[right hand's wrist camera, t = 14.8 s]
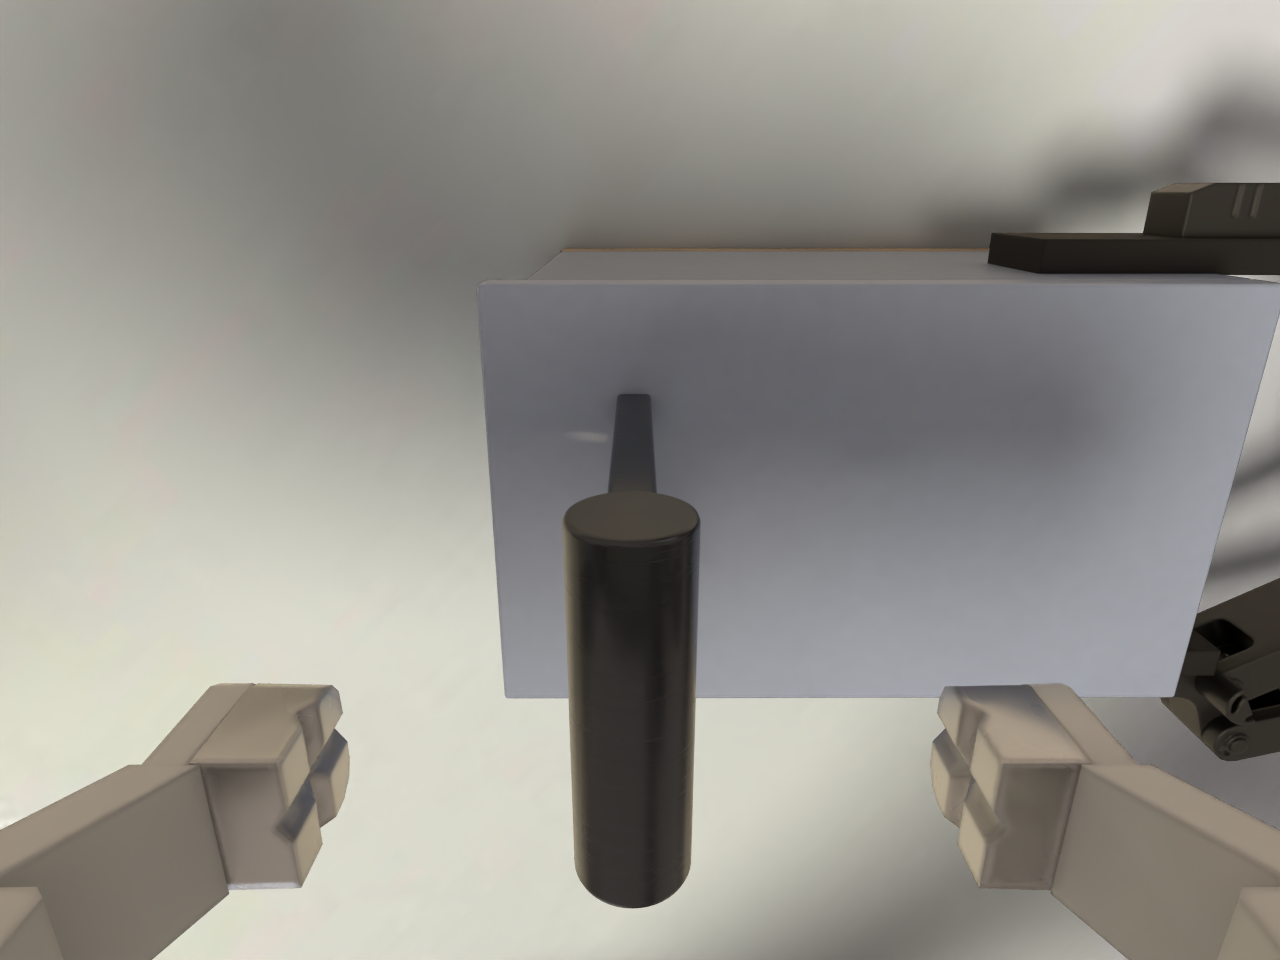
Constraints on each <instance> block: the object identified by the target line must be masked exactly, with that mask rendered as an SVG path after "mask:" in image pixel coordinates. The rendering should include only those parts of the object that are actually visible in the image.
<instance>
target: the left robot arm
mask: <svg viewBox="0 0 1280 960" xmlns="http://www.w3.org/2000/svg"><path fill="white" fill-rule="evenodd" d="M987 263H988V264H993V265H998V266H1003V267H1008V268H1012V269H1017V270H1022V271H1027V272H1032V273H1037V274H1221V275H1280V183H1176V184H1172V185H1169V186H1167V187H1164V188H1162V189H1159V190H1157V191H1154V192H1152V193H1151V198H1150V202H1149V207H1148V212H1147V217H1146V221H1145V226H1144V231H1143V233H992V235H991V242H990V249H989V255H988V262H987ZM1161 701H1162V703H1163V704H1164V705H1165V706H1166V707H1167V708H1168V709H1169V710H1170V711H1171V712H1172V713H1173V714H1174V715H1175V716H1176V717H1177V718H1178V719H1179V720H1180V721H1181V722H1182V723H1183V724H1184V725H1186V726H1187V727H1188V728H1189V729H1190V730H1191V731H1192V732H1193V733H1194V734H1195V735H1196V736H1197V737H1198V738H1199V739H1200V740H1201V741H1202V742H1203V743H1204V744H1205V745H1206V746H1207V747H1208V748H1210V749H1211V750H1212V751H1213V752H1214V753H1215V754H1216V755H1217V756H1218V757H1219V758H1220V759H1222V760H1226V761H1237V760H1241V759H1246V758H1251V757H1256V756H1260V755H1265V754H1270V753H1275V752H1279V751H1280V578H1279V579H1276V580H1274V581H1272V582H1269V583H1267V584H1265V585H1262V586H1260V587H1258V588H1256V589H1253V590H1251V591H1249V592H1246V593H1244V594H1242V595H1239V596H1237V597H1235V598H1232V599H1230V600H1228V601H1226V602H1223V603H1221V604H1219V605H1216V606H1214V607H1212V608H1209V609H1207V610H1205V611H1202V612H1200V613H1198V614H1197V615H1196V619H1195V622H1194V626H1193V629H1192V633H1191V637H1190V640H1189V644H1188V648H1187V651H1186V655H1185V658H1184V662H1183V666H1182V669H1181V673H1180V677H1179V680H1178V684H1177V687H1176V691H1175V695H1174V696H1173V697H1161Z"/></svg>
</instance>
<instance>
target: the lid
mask: <svg viewBox="0 0 1280 960" xmlns="http://www.w3.org/2000/svg"><path fill="white" fill-rule="evenodd" d="M476 289H477V303H478V317H479V332H480V346H481V360H482V375H483V389H484V403H485V418H486V432H487V446H488V461H489V475H490V489H491V504H492V518H493V532H494V546H495V561H496V575H497V589H498V604H499V618H500V632H501V647H502V661H503V675H504V690H505V696H506V698H569V721H570V748H571V775H572V803H573V830H574V857H575V868H576V872H577V875H578V877H579V879H580V881H581V882H582V884H583V885H584V886H585V888H586V889H587V890H588V891H589V892H590V893H591V894H592V895H593V896H595V897H596V898H597V899H599V900H601V901H603V902H605V903H607V904H610V905H613V906H617V907H622V908H643V907H648V906H652V905H655V904H658V903H660V902H662V901H664V900H666V899H667V898H669V897H670V896H672V895H673V894H674V893H675V892H676V891H677V890H678V889H679V888H680V887H681V885H682V884H683V883H684V881H685V879H686V877H687V876H688V873H689V870H690V865H691V841H692V807H693V772H694V737H695V702H696V698H940V695H941V693H942V691H943V689H944V687H945V686H985V685H1022V684H1041V683H1062V684H1064V685H1067V686H1069V687H1070V688H1072V690H1073V691H1074V692H1075V693H1076V694H1077V695H1078V696H1079V697H1173V696H1174V695H1175V691H1176V687H1177V684H1178V680H1179V677H1180V673H1181V669H1182V666H1183V662H1184V658H1185V655H1186V651H1187V648H1188V644H1189V640H1190V637H1191V633H1192V629H1193V626H1194V622H1195V619H1196V615H1197V611H1198V608H1199V604H1200V600H1201V597H1202V593H1203V590H1204V586H1205V582H1206V579H1207V575H1208V571H1209V568H1210V564H1211V561H1212V557H1213V553H1214V550H1215V546H1216V542H1217V539H1218V535H1219V532H1220V528H1221V524H1222V521H1223V517H1224V514H1225V510H1226V506H1227V503H1228V499H1229V495H1230V492H1231V488H1232V485H1233V481H1234V477H1235V474H1236V470H1237V466H1238V463H1239V459H1240V456H1241V452H1242V448H1243V445H1244V441H1245V437H1246V434H1247V430H1248V427H1249V423H1250V419H1251V416H1252V412H1253V408H1254V405H1255V401H1256V398H1257V394H1258V390H1259V387H1260V383H1261V379H1262V376H1263V372H1264V369H1265V365H1266V361H1267V358H1268V354H1269V350H1270V347H1271V343H1272V340H1273V336H1274V332H1275V329H1276V325H1277V321H1278V318H1279V314H1280V283H1276V282H1269V281H1262V280H1255V279H1207V280H485V281H483V282H482V283H480V284H478V285H477V288H476Z"/></svg>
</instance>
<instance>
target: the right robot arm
mask: <svg viewBox="0 0 1280 960" xmlns="http://www.w3.org/2000/svg"><path fill="white" fill-rule="evenodd" d="M937 713H938V715H939V717H940V719H941V721H942V722H943V724H944V726H945V729H944V731H943V732H942V733H941V734H940V735H939V736H938V737H937V738H936V739H935V740H934V741H933V744H932V752H931V761H930V766H931V777H932V786H933V789H934V793H935V796H936V800H937V802H938V805H939V807H940V809H941V811H942V813H943V815H944V817H945V818H947V819H948V820H950V821H951V822H952V823H954V824H955V825H957V826H958V827H959V828H960V832H959V838H958V846H959V848H960V850H961V852H962V854H963V856H964V858H965V860H966V862H967V864H968V866H969V868H970V870H971V873H972V875H973V877H974V879H975V881H976V883H977V885H978V887H979V888H997V889H1033V890H1052V891H1051V894H1052V895H1053V896H1054V897H1056V898H1057V899H1058V900H1059V901H1060V902H1061V903H1063V904H1064V905H1065V906H1066V907H1067V908H1069V909H1070V910H1071V911H1072V912H1073V913H1074V914H1076V915H1077V916H1078V917H1079V918H1080V919H1081V920H1083V921H1084V922H1085V923H1086V924H1087V925H1088V926H1090V927H1091V928H1092V929H1093V930H1094V931H1095V932H1097V933H1098V934H1099V935H1100V936H1101V937H1102V938H1104V939H1105V940H1106V941H1107V942H1108V943H1110V944H1111V945H1112V946H1113V947H1114V948H1115V949H1117V950H1118V951H1119V952H1120V953H1121V954H1122V955H1124V956H1125V957H1126V958H1127V959H1128V960H1280V830H1278V829H1276V828H1274V827H1272V826H1270V825H1268V824H1266V823H1264V822H1262V821H1260V820H1259V819H1257V818H1255V817H1253V816H1251V815H1249V814H1247V813H1245V812H1243V811H1241V810H1239V809H1237V808H1235V807H1233V806H1231V805H1229V804H1227V803H1225V802H1223V801H1221V800H1219V799H1217V798H1215V797H1213V796H1211V795H1209V794H1207V793H1205V792H1204V791H1202V790H1200V789H1198V788H1196V787H1194V786H1192V785H1190V784H1188V783H1186V782H1184V781H1182V780H1180V779H1178V778H1176V777H1174V776H1172V775H1170V774H1168V773H1166V772H1164V771H1162V770H1160V769H1158V768H1156V767H1154V766H1152V765H1138V764H1137V762H1136V761H1135V760H1134V759H1133V758H1132V757H1131V756H1130V754H1129V753H1128V752H1127V751H1126V750H1125V749H1124V748H1123V747H1122V745H1121V744H1120V743H1119V742H1118V741H1117V740H1116V739H1115V737H1114V736H1113V735H1112V734H1111V733H1110V732H1109V731H1108V729H1107V728H1106V727H1105V726H1104V725H1103V724H1102V723H1101V721H1100V720H1099V719H1098V718H1097V717H1096V716H1095V715H1094V713H1093V712H1092V711H1091V710H1090V709H1089V708H1088V707H1087V706H1086V704H1085V703H1084V702H1083V701H1082V700H1081V699H1080V698H1079V696H1078V695H1077V694H1076V693H1075V692H1074V691H1073V690H1072V688H1070V687H1069V686H1067V685H1064V684H1062V683H1041V684H1022V685H985V686H945V687H944V689H943V691H942V693H941V695H940V699H939V705H938V711H937ZM342 714H343V711H342V706H341V701H340V696H339V691H338V690H337V689H336V688H335V687H334V686H332V685H305V684H253V683H220V684H217V685H214V686H211V687H210V688H209V689H208V690H207V691H206V692H205V693H204V694H203V695H202V696H201V698H200V699H199V700H198V701H197V702H196V703H195V704H194V706H193V707H192V708H191V709H190V710H189V711H188V712H187V714H186V715H185V716H184V717H183V718H182V719H181V720H180V722H179V723H178V724H177V725H176V726H175V727H174V728H173V729H172V731H171V732H170V733H169V734H168V735H167V736H166V737H165V739H164V740H163V741H162V742H161V743H160V744H159V745H158V747H157V748H156V749H155V750H154V751H153V752H152V753H151V755H150V756H149V757H148V758H147V759H146V760H145V761H144V763H143V764H142V765H128V766H126V767H124V768H122V769H120V770H118V771H116V772H114V773H112V774H110V775H108V776H106V777H104V778H102V779H100V780H98V781H96V782H94V783H92V784H90V785H88V786H86V787H84V788H82V789H80V790H78V791H76V792H74V793H72V794H71V795H69V796H67V797H65V798H63V799H61V800H59V801H57V802H55V803H53V804H51V805H49V806H47V807H45V808H43V809H41V810H39V811H37V812H35V813H33V814H31V815H29V816H27V817H25V818H23V819H21V820H19V821H17V822H15V823H13V824H11V825H9V826H8V827H6V828H4V829H2V830H0V960H152V959H153V958H154V957H156V956H157V955H158V954H159V953H160V952H161V951H163V950H164V949H165V948H166V947H167V946H169V945H170V944H171V943H172V942H173V941H174V940H176V939H177V938H178V937H179V936H180V935H181V934H183V933H184V932H185V931H186V930H187V929H188V928H190V927H191V926H192V925H193V924H194V923H196V922H197V921H198V920H199V919H200V918H201V917H203V916H204V915H205V914H206V913H207V912H208V911H210V910H211V909H212V908H213V907H214V906H215V905H217V904H218V903H219V902H220V901H221V900H223V899H224V898H225V897H226V896H227V895H228V894H229V891H228V890H247V889H281V888H301V887H302V885H303V883H304V881H305V879H306V877H307V875H308V873H309V871H310V869H311V867H312V865H313V863H314V861H315V859H316V857H317V855H318V853H319V851H320V848H321V846H322V844H323V843H322V837H321V831H320V828H321V827H322V826H324V825H325V824H326V823H328V822H329V821H330V820H332V819H333V818H335V817H336V816H337V813H338V811H339V809H340V807H341V805H342V802H343V800H344V797H345V793H346V788H347V784H348V779H349V759H350V757H349V750H348V743H347V741H346V740H345V739H344V738H343V737H342V736H341V735H340V734H339V732H338V731H337V730H336V729H335V726H336V724H337V722H338V721H339V719H340V717H341V715H342Z"/></svg>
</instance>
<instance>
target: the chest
mask: <svg viewBox="0 0 1280 960" xmlns="http://www.w3.org/2000/svg"><path fill="white" fill-rule="evenodd" d="M989 249H990V248H564V249H562V250H561V251H560V253H559V254H558V255H557V256H556V257H554V258H553V259H552V260H551V261H549V262H548V263H547V264H546V265H544V266H543V267H542V268H541V269H539V270H538V271H537V272H536V273H534V274H533V275H532V276H531V277H529V278H528V279H527V280H1207V279H1249V278H1242V277H1235V276H1228V275H1221V274H1037V273H1032V272H1027V271H1022V270H1017V269H1012V268H1008V267H1003V266H998V265H993V264H988V263H987V262H988V255H989Z"/></svg>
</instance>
